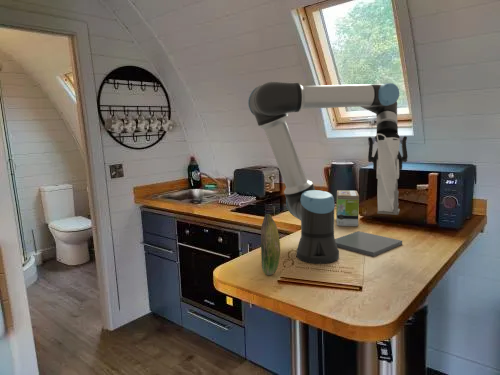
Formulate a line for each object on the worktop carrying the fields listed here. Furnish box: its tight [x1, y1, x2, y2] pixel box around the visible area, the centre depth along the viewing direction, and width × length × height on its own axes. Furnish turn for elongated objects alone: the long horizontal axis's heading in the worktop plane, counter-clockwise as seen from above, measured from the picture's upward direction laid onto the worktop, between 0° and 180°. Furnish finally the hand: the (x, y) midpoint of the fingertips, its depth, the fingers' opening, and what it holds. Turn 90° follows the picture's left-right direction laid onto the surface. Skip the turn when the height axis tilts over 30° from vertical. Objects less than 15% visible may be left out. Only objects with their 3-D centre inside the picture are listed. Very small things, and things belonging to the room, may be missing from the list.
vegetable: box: [260, 213, 281, 276], centre depth 122 cm, size 6×6×20 cm
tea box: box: [335, 190, 360, 227], centre depth 185 cm, size 15×10×15 cm, turn 168°
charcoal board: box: [335, 230, 403, 257], centre depth 152 cm, size 20×20×2 cm
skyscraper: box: [375, 133, 401, 216], centre depth 137 cm, size 8×8×28 cm
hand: (387, 176), depth 134 cm, fingers closed on skyscraper, 6 cm apart
